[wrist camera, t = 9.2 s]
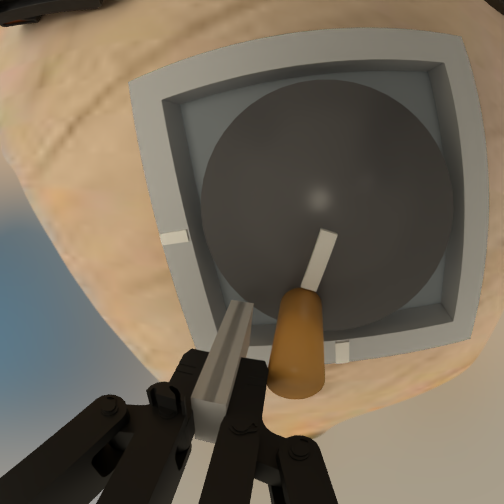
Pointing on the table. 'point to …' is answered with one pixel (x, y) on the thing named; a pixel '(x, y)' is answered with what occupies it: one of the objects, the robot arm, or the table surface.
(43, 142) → the table surface
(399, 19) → the table surface
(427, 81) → the square crank box
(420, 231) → the crank dial
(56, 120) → the table surface
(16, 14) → the tool
